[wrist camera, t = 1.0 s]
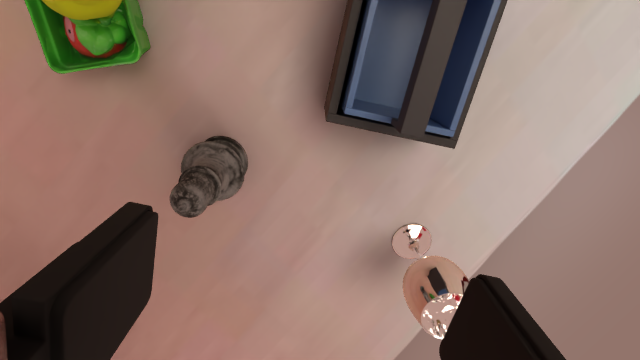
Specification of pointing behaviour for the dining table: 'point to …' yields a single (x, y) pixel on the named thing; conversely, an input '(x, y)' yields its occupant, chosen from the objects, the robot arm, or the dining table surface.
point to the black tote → (338, 116)
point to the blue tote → (416, 62)
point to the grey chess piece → (209, 175)
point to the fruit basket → (89, 33)
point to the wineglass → (429, 280)
